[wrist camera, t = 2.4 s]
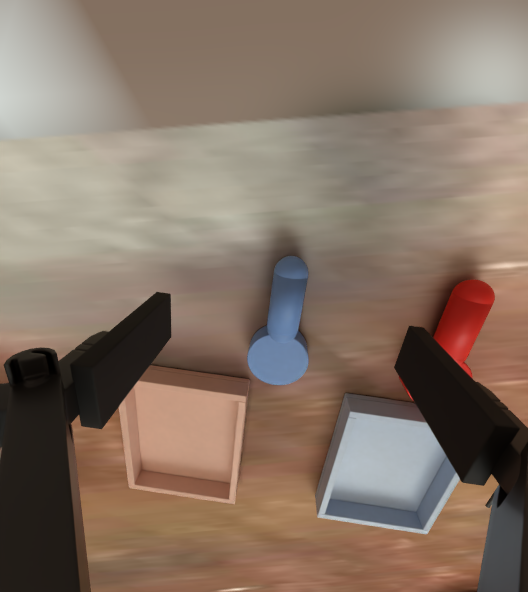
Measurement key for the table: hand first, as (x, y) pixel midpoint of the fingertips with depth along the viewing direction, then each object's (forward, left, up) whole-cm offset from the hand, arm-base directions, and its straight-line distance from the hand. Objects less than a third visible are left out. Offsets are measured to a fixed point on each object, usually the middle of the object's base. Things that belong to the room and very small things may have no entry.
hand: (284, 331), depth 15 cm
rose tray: (+14, -7, -5) cm, 16 cm away
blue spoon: (+1, 0, -5) cm, 5 cm away
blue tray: (+14, +11, -5) cm, 19 cm away
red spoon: (+1, +12, -5) cm, 13 cm away
